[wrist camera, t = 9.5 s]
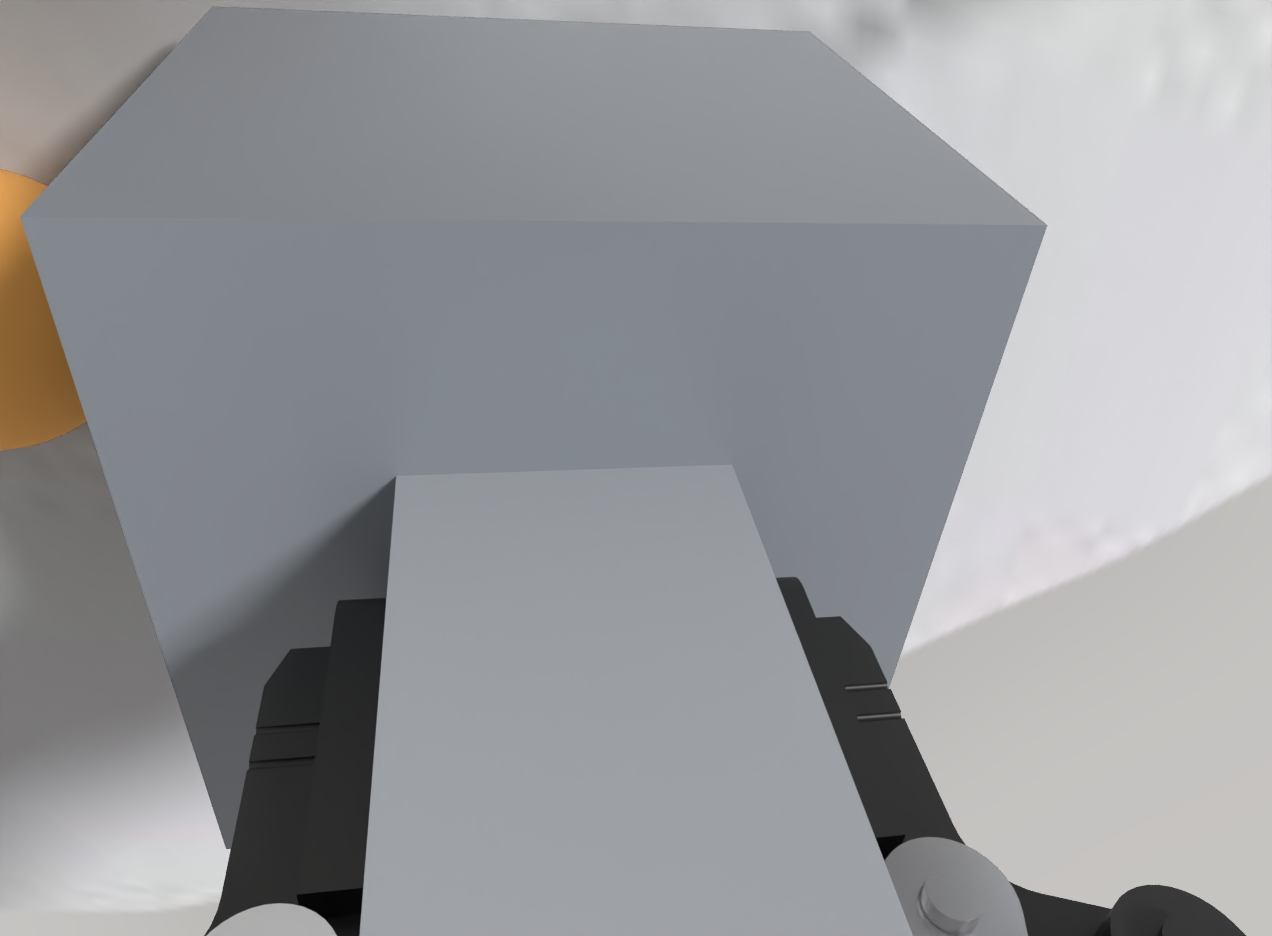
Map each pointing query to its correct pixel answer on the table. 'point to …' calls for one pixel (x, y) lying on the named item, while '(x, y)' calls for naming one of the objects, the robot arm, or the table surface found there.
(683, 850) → the grey stepped block
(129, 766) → the table surface
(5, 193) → the ball
